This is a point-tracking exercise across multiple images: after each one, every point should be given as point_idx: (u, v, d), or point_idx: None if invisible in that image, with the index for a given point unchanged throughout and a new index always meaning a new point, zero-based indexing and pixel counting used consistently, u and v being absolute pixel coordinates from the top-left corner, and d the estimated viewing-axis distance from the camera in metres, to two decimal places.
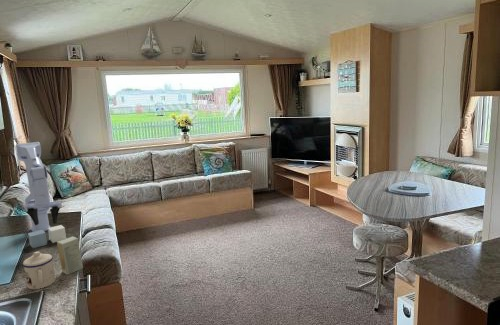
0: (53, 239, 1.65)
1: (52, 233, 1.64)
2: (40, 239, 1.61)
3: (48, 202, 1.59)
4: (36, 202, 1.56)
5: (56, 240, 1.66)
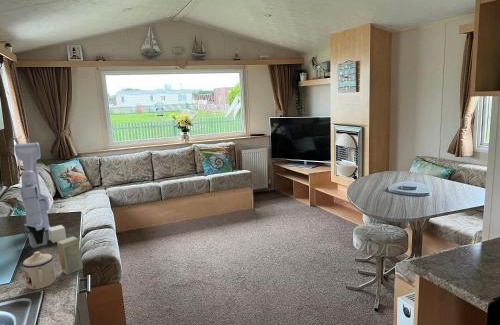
0: (53, 239, 1.65)
1: (52, 233, 1.64)
2: None
3: (33, 222, 1.59)
4: None
5: (56, 240, 1.66)
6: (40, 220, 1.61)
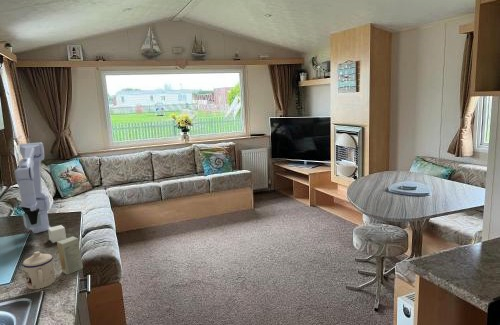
0: (53, 239, 1.65)
1: (52, 233, 1.64)
2: None
3: (28, 203, 1.63)
4: None
5: (56, 240, 1.66)
6: (34, 201, 1.65)
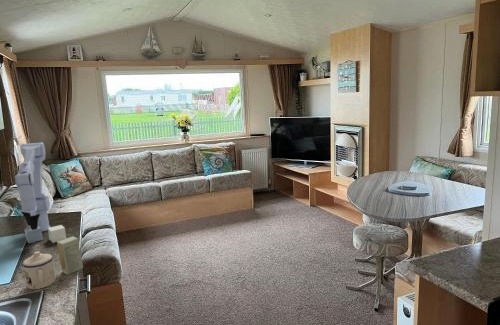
0: (53, 239, 1.65)
1: (52, 233, 1.64)
2: (36, 234, 1.67)
3: (28, 208, 1.64)
4: None
5: (56, 240, 1.66)
6: (34, 206, 1.66)
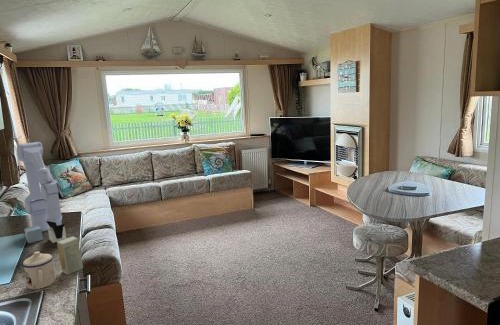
0: (53, 239, 1.65)
1: (52, 233, 1.64)
2: (36, 234, 1.67)
3: (54, 217, 1.64)
4: None
5: (56, 240, 1.66)
6: (60, 215, 1.66)
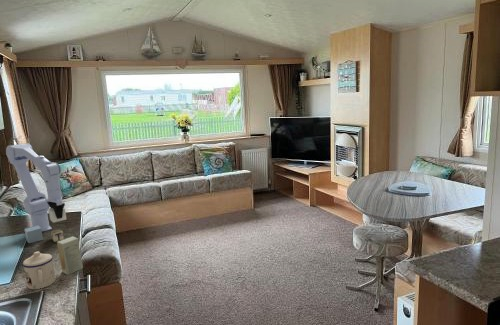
0: (53, 219, 1.70)
1: (52, 213, 1.69)
2: (36, 234, 1.67)
3: (54, 198, 1.69)
4: None
5: (57, 220, 1.71)
6: (60, 196, 1.71)
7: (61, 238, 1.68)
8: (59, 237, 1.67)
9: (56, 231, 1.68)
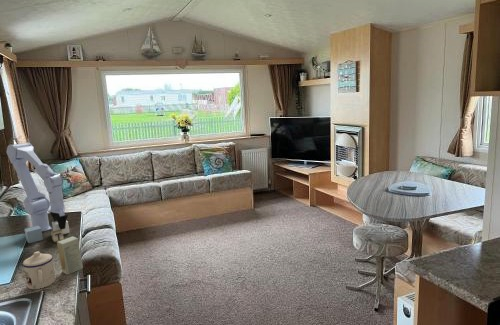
0: None
1: (56, 227, 1.73)
2: (36, 234, 1.67)
3: (57, 209, 1.72)
4: None
5: None
6: (63, 207, 1.74)
7: (61, 238, 1.68)
8: (59, 237, 1.67)
9: (56, 231, 1.68)
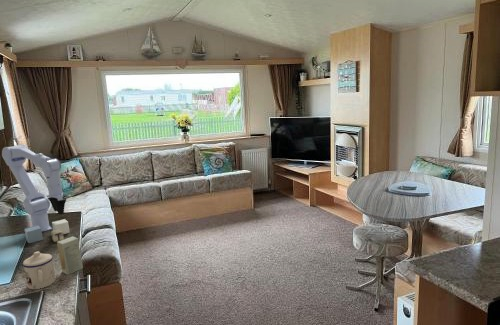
0: None
1: (56, 227, 1.73)
2: (36, 234, 1.67)
3: (55, 193, 1.71)
4: None
5: None
6: (61, 192, 1.73)
7: (61, 238, 1.68)
8: (59, 237, 1.67)
9: (56, 231, 1.68)
